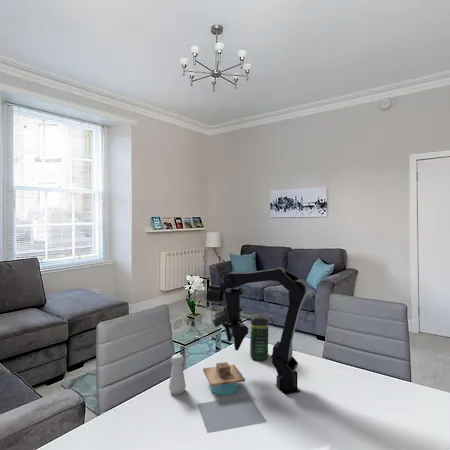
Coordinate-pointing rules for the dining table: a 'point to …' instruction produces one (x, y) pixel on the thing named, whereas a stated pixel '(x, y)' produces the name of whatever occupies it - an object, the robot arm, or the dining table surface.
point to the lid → (223, 374)
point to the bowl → (224, 389)
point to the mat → (230, 414)
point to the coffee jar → (259, 336)
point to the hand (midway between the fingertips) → (232, 345)
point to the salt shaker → (177, 375)
